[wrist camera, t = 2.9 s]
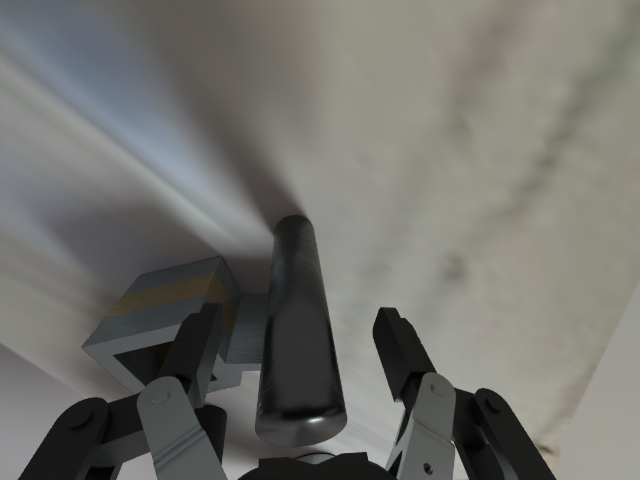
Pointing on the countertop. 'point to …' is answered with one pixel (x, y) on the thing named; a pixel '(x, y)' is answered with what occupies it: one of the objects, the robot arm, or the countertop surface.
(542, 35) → the countertop surface
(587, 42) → the countertop surface
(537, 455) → the robot arm
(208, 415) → the drinking cup
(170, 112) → the countertop surface
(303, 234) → the hinge pin
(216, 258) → the hinge
